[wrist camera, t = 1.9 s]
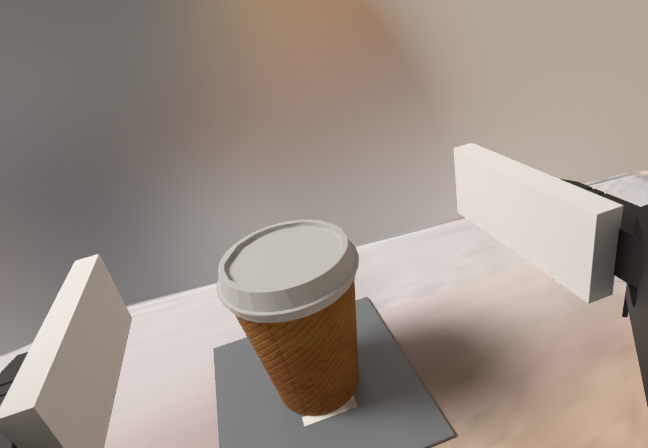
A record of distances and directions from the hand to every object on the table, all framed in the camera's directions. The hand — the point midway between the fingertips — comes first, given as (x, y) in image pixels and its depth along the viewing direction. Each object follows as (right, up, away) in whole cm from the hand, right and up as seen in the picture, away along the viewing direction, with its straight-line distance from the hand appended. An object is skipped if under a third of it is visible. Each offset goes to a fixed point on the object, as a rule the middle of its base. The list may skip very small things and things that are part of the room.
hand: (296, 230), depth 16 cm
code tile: (0, -12, +18) cm, 22 cm away
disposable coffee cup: (+1, -12, +18) cm, 22 cm away
